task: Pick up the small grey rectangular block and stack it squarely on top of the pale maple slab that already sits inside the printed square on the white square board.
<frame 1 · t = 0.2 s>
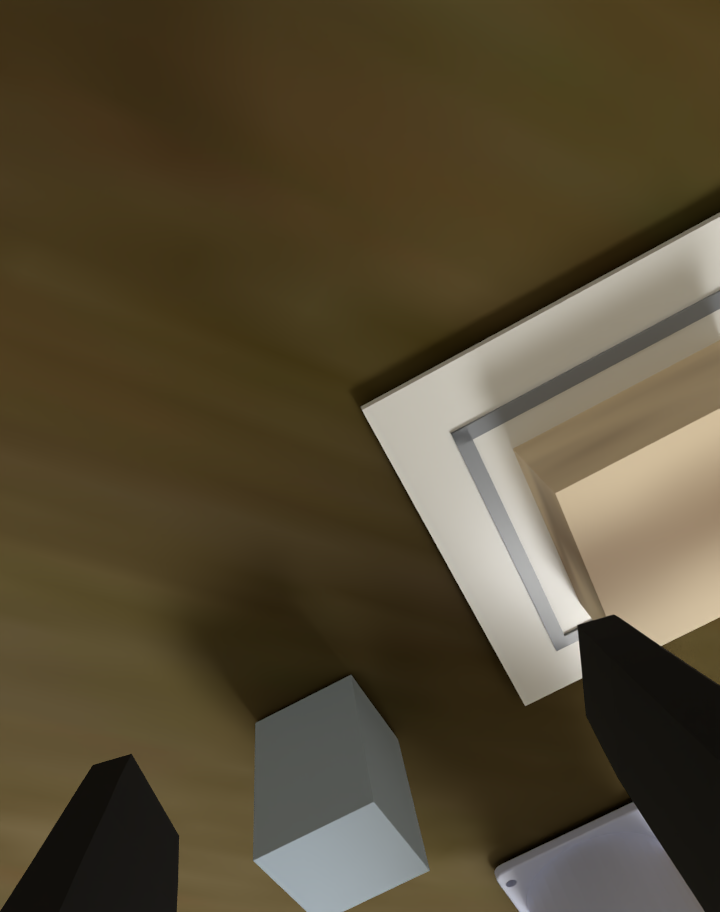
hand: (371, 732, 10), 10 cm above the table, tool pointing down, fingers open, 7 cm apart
grey rectangular block: (328, 731, 23), on the table
maple slab: (644, 482, 20), resting on white square board
white square board: (639, 478, 20), on the table
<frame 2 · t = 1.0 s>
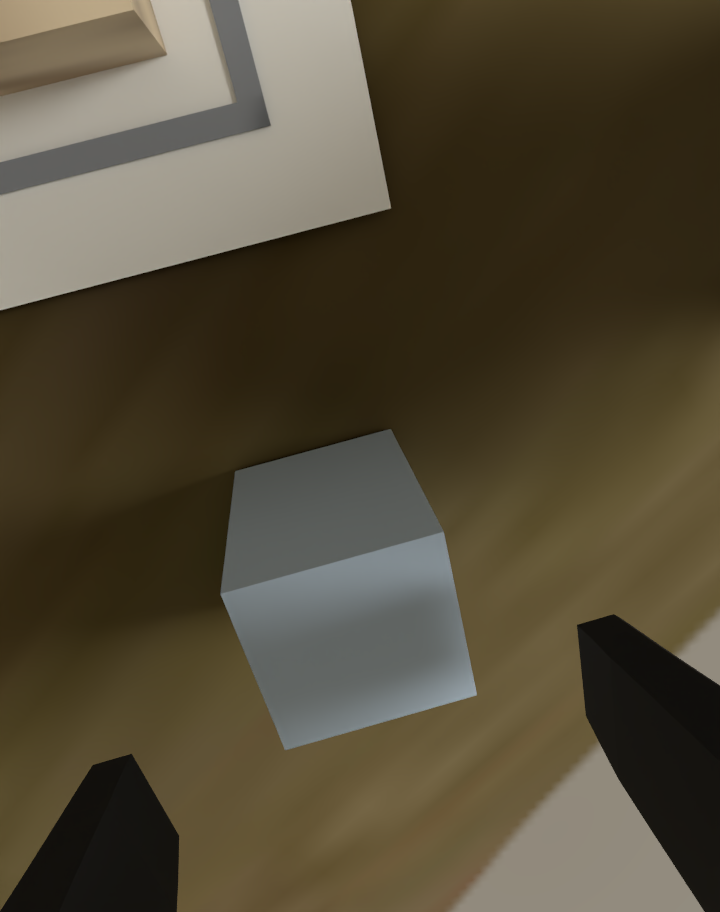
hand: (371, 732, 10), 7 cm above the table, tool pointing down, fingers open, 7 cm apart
grey rectangular block: (333, 517, 16), on the table
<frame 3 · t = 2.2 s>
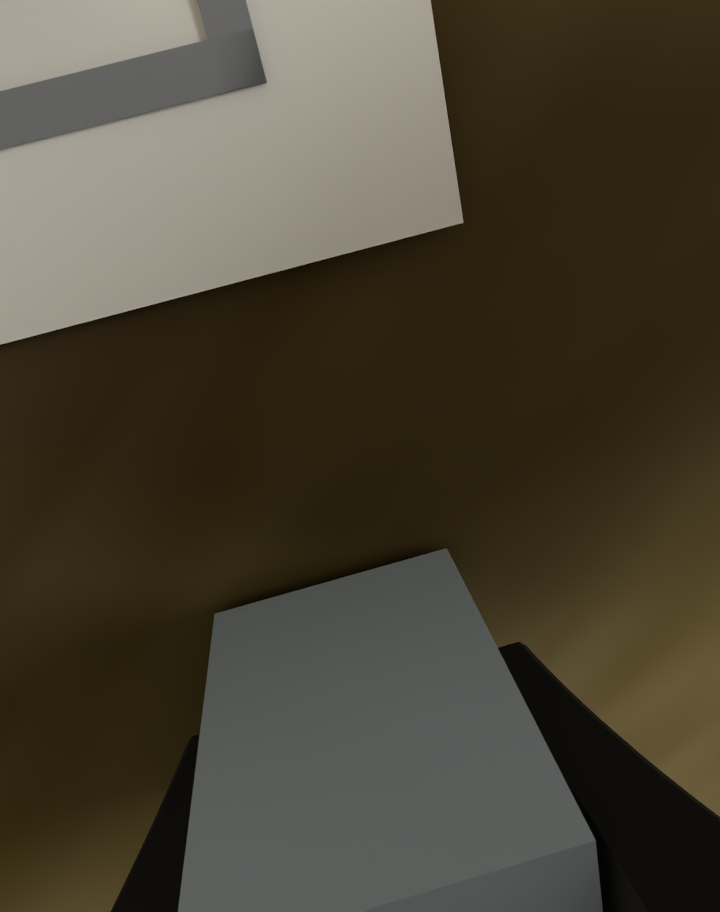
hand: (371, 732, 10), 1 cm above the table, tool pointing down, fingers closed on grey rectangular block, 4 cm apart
grey rectangular block: (358, 668, 11), on the table, touching gripper
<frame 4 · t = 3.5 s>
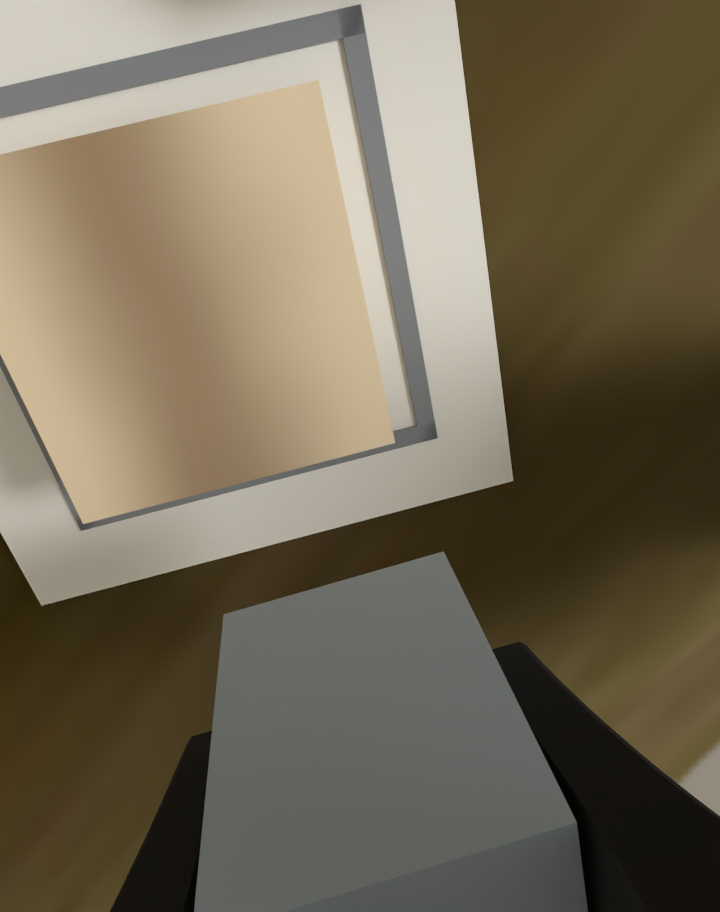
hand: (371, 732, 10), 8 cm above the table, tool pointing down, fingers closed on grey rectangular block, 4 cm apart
grey rectangular block: (360, 665, 11), point 7 cm above the table, touching gripper
maple slab: (202, 302, 14), resting on white square board
white square board: (203, 300, 15), on the table
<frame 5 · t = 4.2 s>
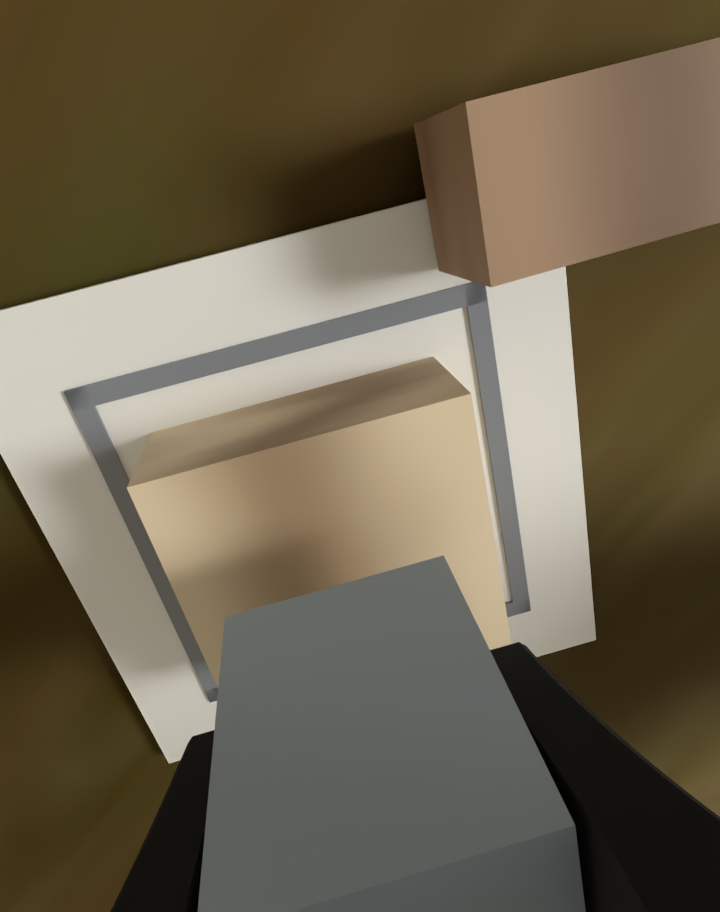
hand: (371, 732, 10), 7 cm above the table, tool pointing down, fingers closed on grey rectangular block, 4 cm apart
walnut bar: (596, 155, 13), on the table, touching white square board
grey rectangular block: (360, 668, 11), point 6 cm above the table, touching gripper
maple slab: (330, 515, 16), resting on white square board
white square board: (329, 509, 16), on the table
when the fingers open (6 cm above the table, at t = 4.9 s): grey rectangular block stays where it is, resting on maple slab.
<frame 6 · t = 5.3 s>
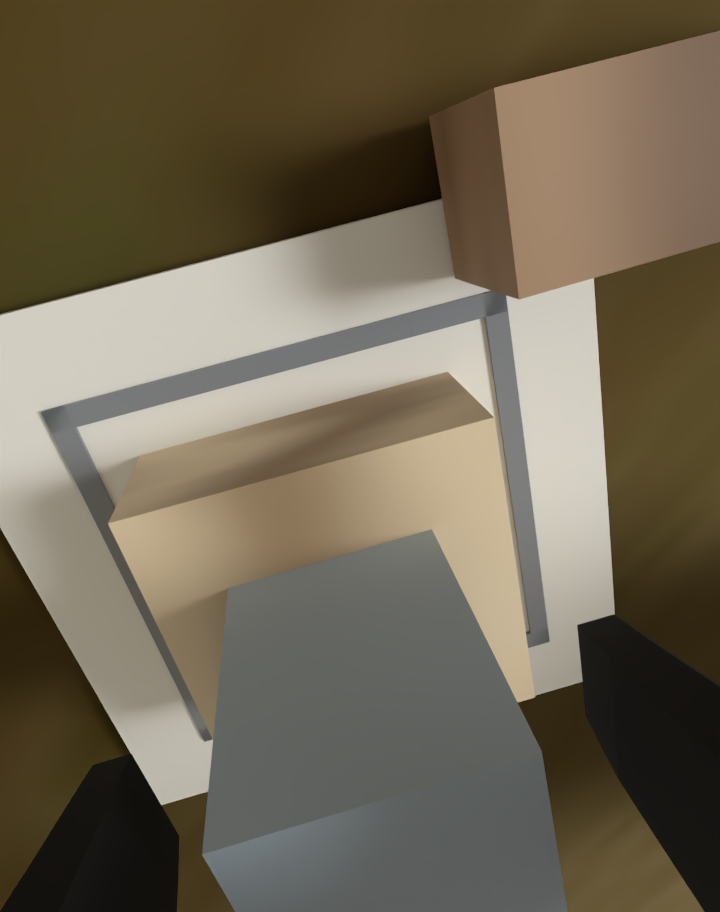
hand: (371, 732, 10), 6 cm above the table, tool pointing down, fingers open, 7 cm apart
walnut bar: (629, 151, 12), on the table, touching white square board
grey rectangular block: (355, 637, 12), point 3 cm above the table, touching maple slab
maple slab: (334, 542, 15), resting on white square board, touching grey rectangular block
white square board: (333, 536, 15), on the table
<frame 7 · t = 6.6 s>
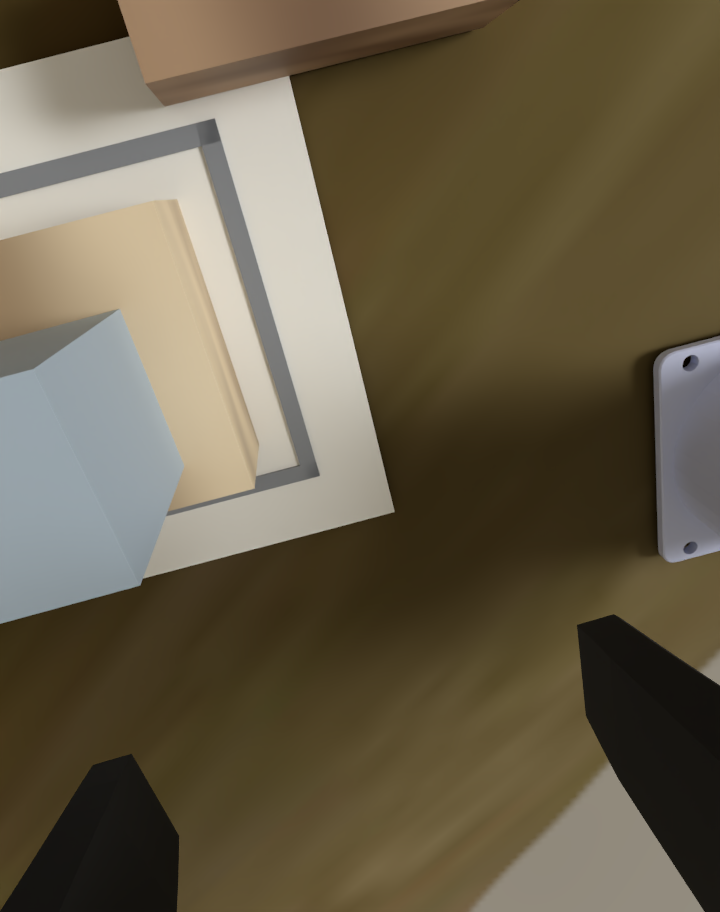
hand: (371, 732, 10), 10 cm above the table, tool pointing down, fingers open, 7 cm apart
grey rectangular block: (71, 414, 14), point 3 cm above the table, touching maple slab
maple slab: (99, 364, 17), resting on white square board, touching grey rectangular block
white square board: (102, 361, 17), on the table
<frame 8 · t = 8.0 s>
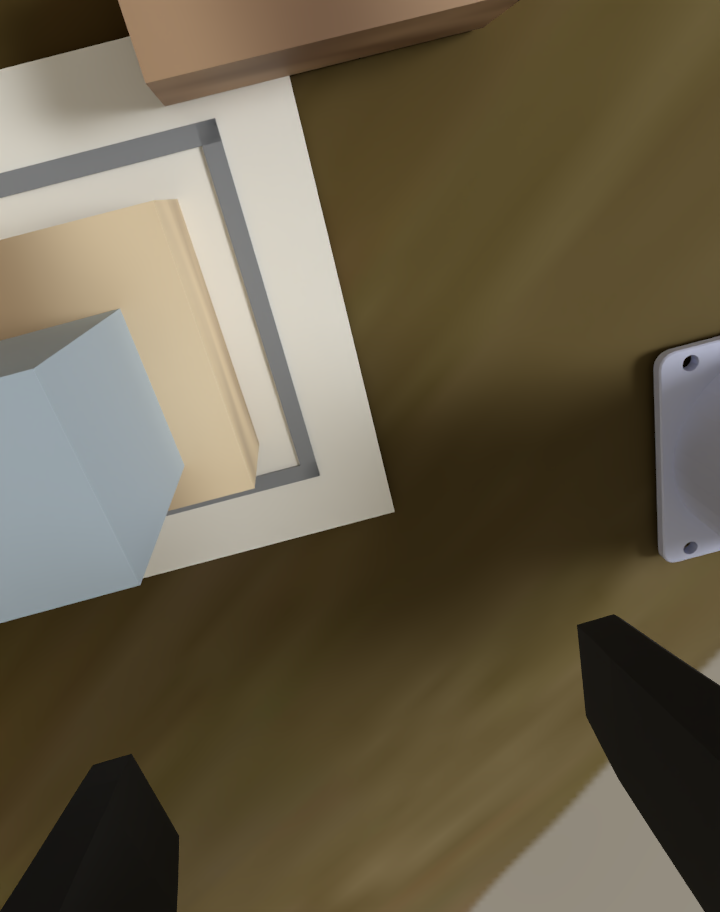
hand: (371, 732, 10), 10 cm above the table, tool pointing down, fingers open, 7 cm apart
grey rectangular block: (72, 413, 14), point 3 cm above the table, touching maple slab
maple slab: (99, 363, 17), resting on white square board, touching grey rectangular block
white square board: (102, 361, 17), on the table
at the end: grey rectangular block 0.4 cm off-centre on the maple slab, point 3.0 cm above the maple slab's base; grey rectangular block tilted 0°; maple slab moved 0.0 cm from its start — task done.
